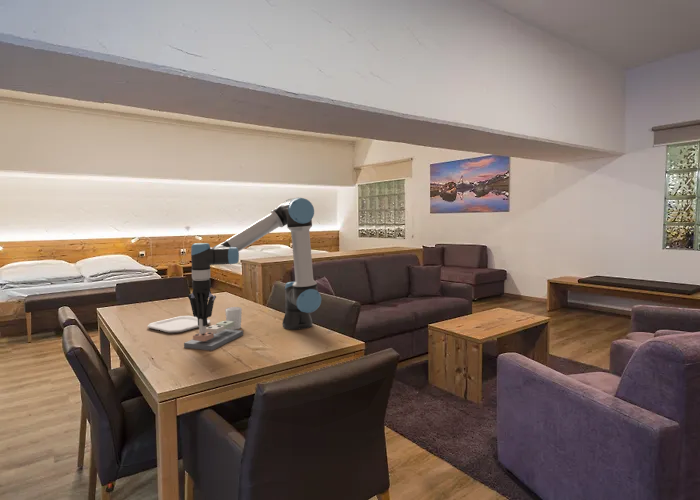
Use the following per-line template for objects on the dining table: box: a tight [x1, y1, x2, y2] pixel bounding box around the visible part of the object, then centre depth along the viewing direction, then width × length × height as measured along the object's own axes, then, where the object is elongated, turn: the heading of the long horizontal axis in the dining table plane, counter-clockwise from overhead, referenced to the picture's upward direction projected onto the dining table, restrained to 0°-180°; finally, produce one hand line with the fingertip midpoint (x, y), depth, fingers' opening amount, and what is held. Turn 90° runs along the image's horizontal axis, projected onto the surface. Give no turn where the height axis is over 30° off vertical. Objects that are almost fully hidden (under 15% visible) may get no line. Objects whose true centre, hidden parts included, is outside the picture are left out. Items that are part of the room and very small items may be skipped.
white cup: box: [224, 306, 243, 330], centre depth 208 cm, size 8×8×10 cm
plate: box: [147, 315, 211, 334], centre depth 212 cm, size 25×25×2 cm
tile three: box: [192, 332, 214, 341], centre depth 179 cm, size 6×6×2 cm
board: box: [183, 329, 244, 351], centre depth 187 cm, size 14×24×2 cm, turn 162°
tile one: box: [215, 320, 234, 329], centre depth 194 cm, size 6×6×2 cm
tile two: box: [206, 324, 224, 334], centre depth 186 cm, size 6×6×2 cm
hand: (202, 333), depth 179 cm, fingers closed
